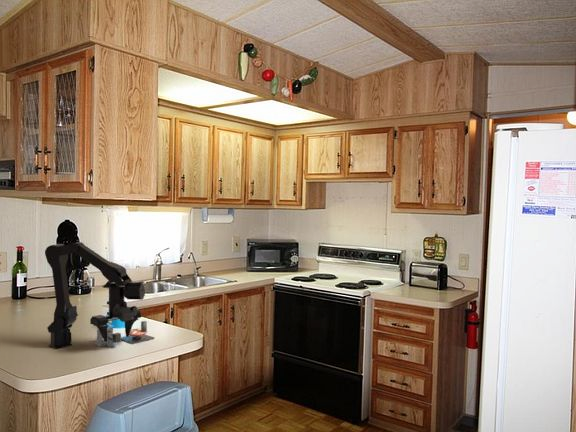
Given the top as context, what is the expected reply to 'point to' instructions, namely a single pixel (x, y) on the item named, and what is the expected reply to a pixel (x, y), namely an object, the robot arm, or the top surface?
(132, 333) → the handwheel
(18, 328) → the top surface
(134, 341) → the wheel mount
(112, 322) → the mug
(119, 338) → the hook rod
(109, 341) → the eye bracket
